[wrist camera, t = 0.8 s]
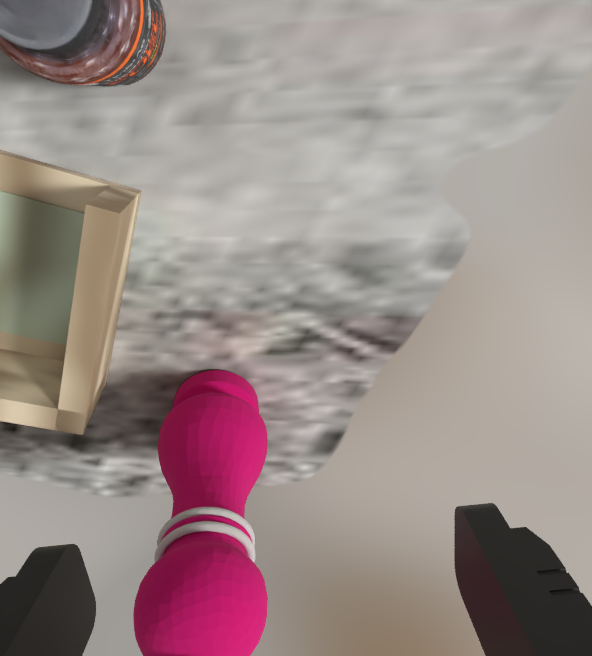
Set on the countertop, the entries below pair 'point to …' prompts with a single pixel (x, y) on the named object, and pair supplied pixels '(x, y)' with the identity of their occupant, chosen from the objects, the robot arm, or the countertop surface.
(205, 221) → the countertop surface
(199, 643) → the pepper mill
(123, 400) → the countertop surface
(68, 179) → the tray
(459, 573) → the robot arm
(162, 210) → the countertop surface
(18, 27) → the supplement bottle
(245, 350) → the countertop surface
